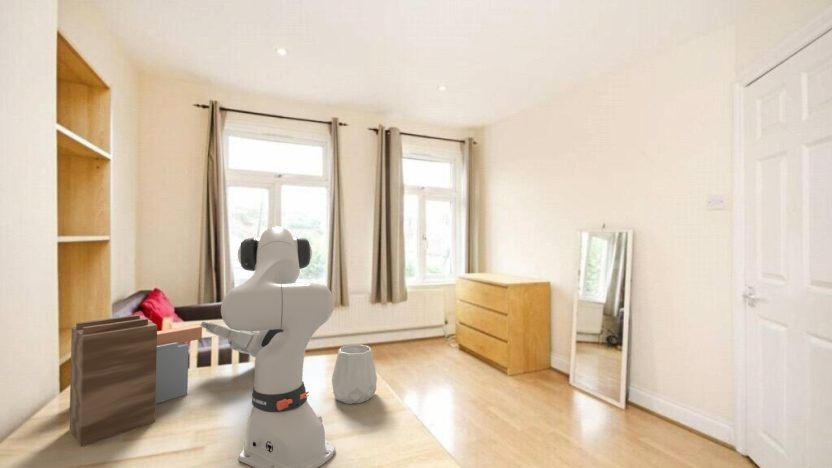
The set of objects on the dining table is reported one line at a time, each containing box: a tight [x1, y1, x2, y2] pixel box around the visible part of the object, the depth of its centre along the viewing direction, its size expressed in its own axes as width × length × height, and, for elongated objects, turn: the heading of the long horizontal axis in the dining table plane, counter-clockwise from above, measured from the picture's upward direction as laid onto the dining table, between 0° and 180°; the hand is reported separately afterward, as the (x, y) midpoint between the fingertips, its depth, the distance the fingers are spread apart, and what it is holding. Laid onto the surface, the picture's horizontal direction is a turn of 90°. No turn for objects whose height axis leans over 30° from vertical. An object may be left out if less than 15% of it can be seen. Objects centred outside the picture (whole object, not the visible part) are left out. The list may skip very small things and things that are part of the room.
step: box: [155, 342, 190, 405], centre depth 116 cm, size 12×11×17 cm
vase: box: [331, 343, 378, 405], centre depth 117 cm, size 14×14×15 cm
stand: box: [68, 314, 158, 447], centre depth 97 cm, size 12×15×28 cm
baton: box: [157, 324, 203, 346], centre depth 116 cm, size 4×22×4 cm, turn 142°
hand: (208, 326), depth 127 cm, fingers open, 8 cm apart
